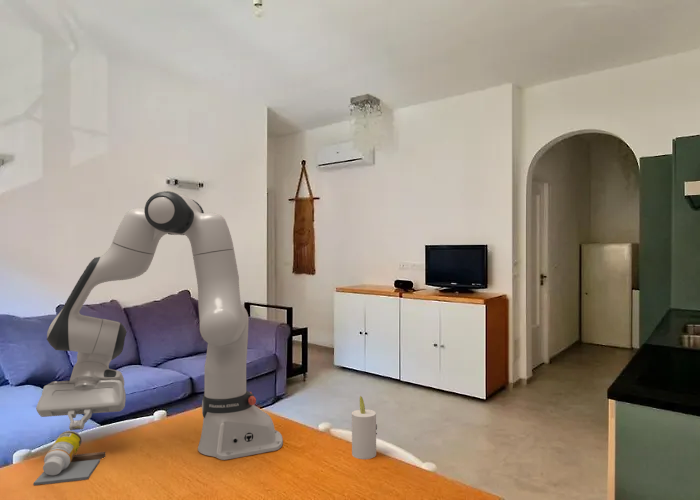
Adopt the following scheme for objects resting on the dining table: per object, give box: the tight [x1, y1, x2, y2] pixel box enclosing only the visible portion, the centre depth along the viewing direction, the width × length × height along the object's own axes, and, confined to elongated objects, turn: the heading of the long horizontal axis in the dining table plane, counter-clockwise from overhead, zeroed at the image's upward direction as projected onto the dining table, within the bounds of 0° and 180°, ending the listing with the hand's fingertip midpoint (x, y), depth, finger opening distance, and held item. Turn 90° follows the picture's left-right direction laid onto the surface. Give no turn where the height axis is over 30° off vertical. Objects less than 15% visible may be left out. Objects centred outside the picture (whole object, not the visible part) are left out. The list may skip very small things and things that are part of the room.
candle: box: [351, 395, 378, 460], centre depth 119 cm, size 6×6×15 cm
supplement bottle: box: [42, 430, 83, 475], centre depth 110 cm, size 6×6×10 cm
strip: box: [71, 451, 106, 462], centre depth 116 cm, size 12×2×1 cm, turn 105°
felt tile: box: [32, 459, 101, 486], centre depth 109 cm, size 11×10×1 cm
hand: (76, 428), depth 115 cm, fingers closed
